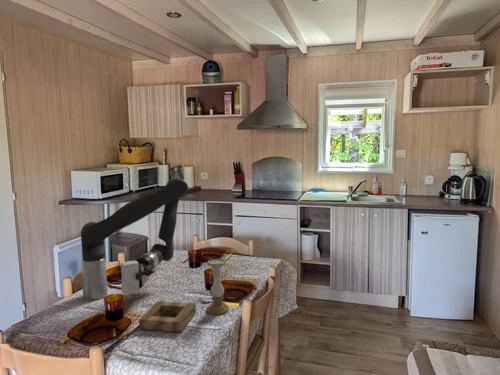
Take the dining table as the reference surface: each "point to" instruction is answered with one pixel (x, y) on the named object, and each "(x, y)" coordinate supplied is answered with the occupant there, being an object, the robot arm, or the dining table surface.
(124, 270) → the skincare box
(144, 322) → the walnut holder
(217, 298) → the candle holder
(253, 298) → the dining table surface
